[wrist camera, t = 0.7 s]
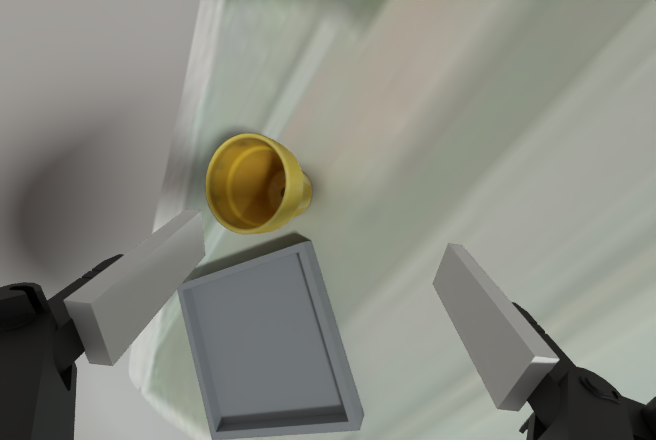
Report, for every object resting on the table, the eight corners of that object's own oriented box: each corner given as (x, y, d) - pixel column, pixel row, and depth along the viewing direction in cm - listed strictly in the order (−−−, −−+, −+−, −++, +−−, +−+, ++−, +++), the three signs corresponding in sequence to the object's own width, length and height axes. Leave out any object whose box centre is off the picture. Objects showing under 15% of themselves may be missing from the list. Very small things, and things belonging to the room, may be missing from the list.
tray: (311, 240, 34) (303, 242, 31) (364, 414, 31) (359, 430, 29) (190, 281, 41) (176, 285, 38) (225, 426, 38) (212, 440, 36)
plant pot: (271, 242, 36) (219, 248, 27) (248, 175, 37) (192, 159, 28) (337, 214, 33) (304, 211, 23) (309, 142, 34) (268, 112, 25)
